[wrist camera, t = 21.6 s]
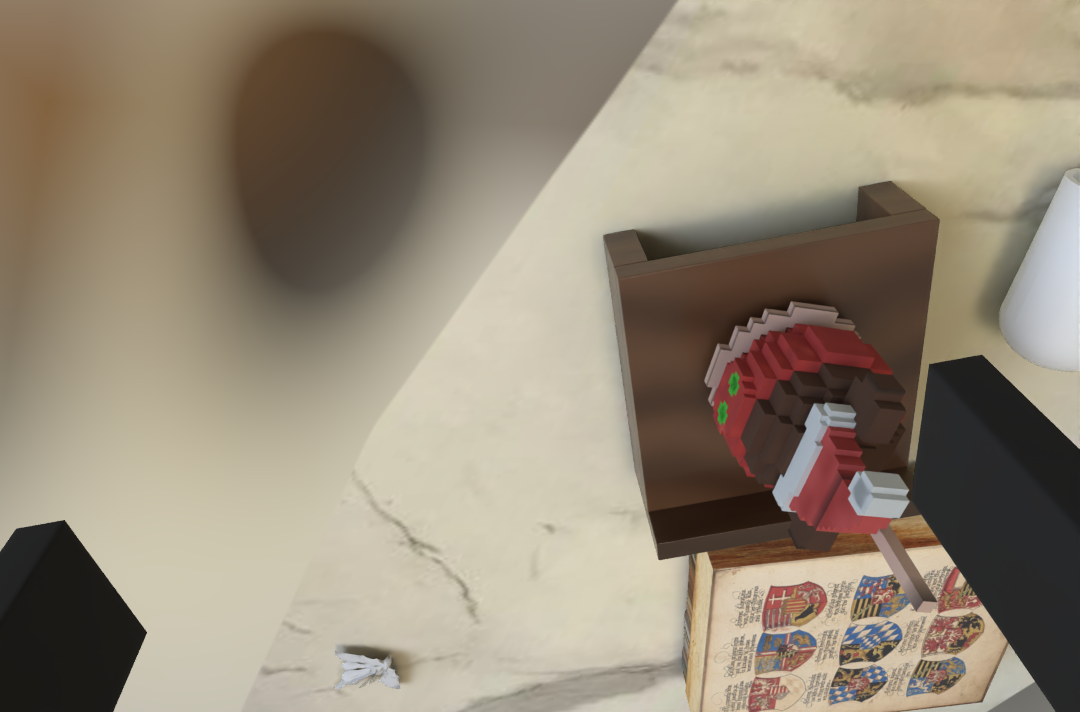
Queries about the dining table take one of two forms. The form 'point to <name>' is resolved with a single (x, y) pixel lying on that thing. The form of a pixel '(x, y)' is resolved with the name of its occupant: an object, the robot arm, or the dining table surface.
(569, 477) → the dining table surface
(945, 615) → the book
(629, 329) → the shelf
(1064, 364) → the mug
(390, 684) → the flower
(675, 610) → the dining table surface
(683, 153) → the dining table surface
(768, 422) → the cake
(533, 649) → the dining table surface
